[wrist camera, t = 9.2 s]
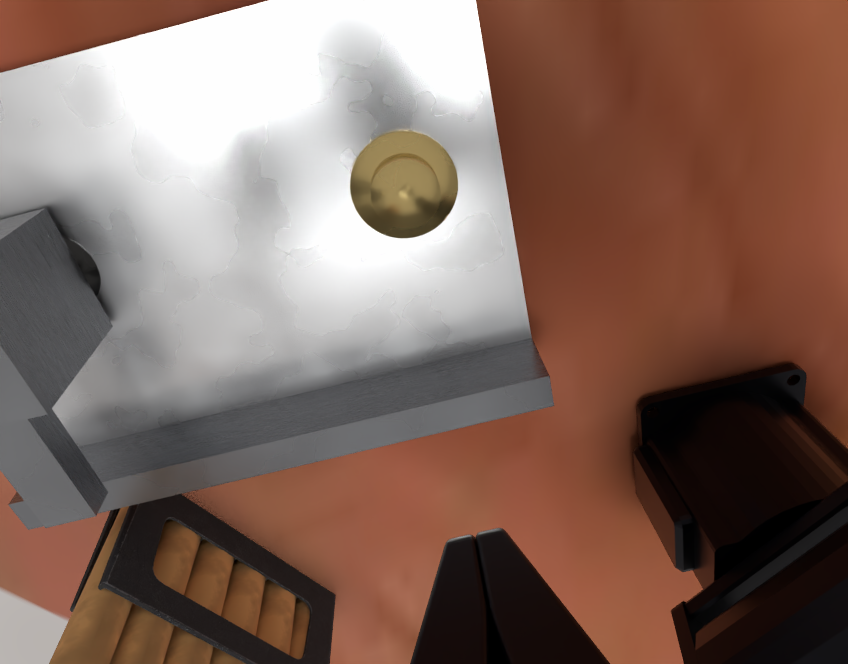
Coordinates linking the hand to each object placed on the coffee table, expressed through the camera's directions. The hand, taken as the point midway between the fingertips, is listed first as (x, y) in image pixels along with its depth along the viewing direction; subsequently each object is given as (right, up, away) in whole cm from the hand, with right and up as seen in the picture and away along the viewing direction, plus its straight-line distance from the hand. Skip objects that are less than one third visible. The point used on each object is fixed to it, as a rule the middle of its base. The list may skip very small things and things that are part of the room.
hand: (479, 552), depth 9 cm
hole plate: (-7, +6, +11) cm, 14 cm away
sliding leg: (-13, +3, +11) cm, 17 cm away
